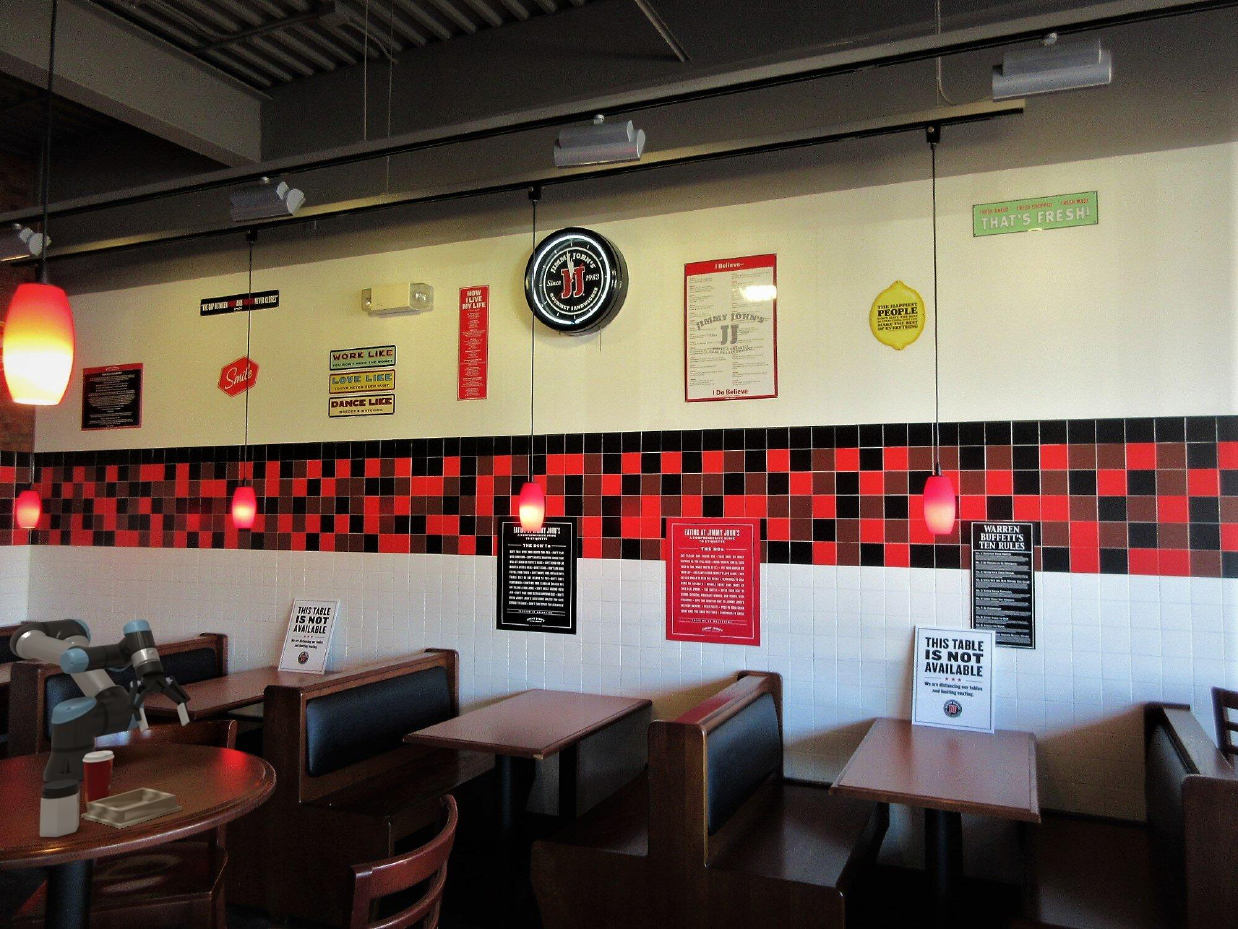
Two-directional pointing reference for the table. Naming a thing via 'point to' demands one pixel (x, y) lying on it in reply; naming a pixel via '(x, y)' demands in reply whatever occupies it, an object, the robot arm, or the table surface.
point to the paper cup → (97, 775)
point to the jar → (59, 808)
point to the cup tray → (131, 807)
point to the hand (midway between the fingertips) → (165, 727)
